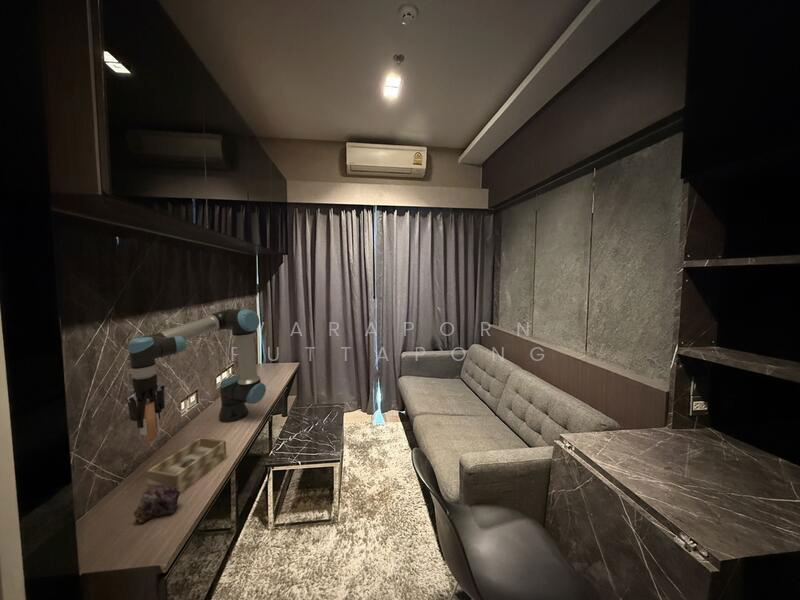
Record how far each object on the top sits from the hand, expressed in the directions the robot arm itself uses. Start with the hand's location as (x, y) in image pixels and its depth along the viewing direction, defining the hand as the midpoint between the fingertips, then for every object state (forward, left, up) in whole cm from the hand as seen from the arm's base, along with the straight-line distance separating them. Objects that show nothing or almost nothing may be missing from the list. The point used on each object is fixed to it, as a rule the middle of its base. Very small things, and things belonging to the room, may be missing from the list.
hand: (150, 431), depth 121 cm
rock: (+13, +20, -21) cm, 32 cm away
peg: (0, 0, -3) cm, 3 cm away
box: (-6, +12, -21) cm, 24 cm away
